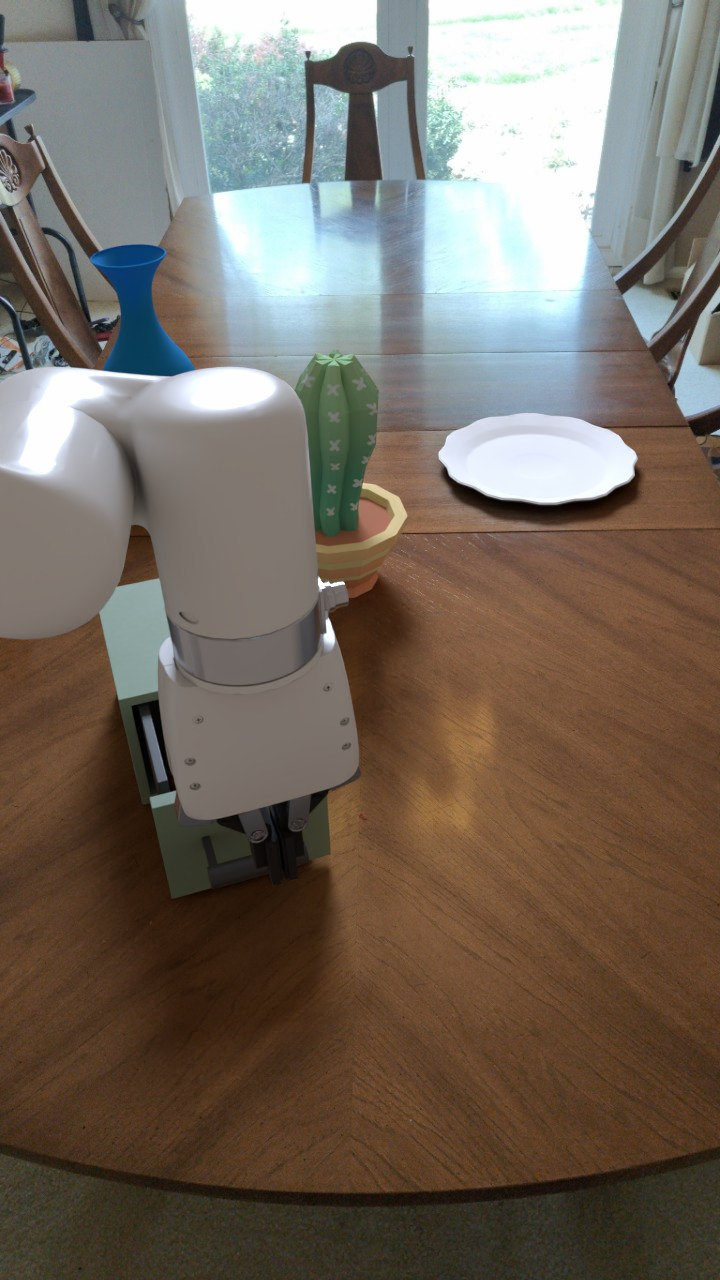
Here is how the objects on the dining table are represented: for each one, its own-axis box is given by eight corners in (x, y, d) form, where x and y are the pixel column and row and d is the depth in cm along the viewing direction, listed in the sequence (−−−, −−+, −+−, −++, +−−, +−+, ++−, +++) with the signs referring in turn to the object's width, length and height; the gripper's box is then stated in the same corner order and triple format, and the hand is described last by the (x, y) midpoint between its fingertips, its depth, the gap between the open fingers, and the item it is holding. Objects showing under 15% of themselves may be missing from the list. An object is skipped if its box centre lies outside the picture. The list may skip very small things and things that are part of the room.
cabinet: (299, 765, 86) (290, 660, 79) (142, 805, 82) (118, 700, 75) (255, 659, 98) (244, 560, 90) (117, 691, 94) (94, 591, 87)
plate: (418, 501, 122) (419, 487, 120) (462, 417, 140) (463, 404, 139) (625, 528, 115) (627, 514, 114) (642, 436, 134) (644, 423, 133)
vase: (228, 462, 131) (202, 245, 114) (176, 505, 122) (140, 277, 105) (153, 446, 135) (117, 235, 118) (97, 487, 126) (50, 265, 109)
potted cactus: (433, 564, 110) (438, 348, 95) (355, 634, 100) (347, 405, 85) (322, 527, 117) (310, 320, 102) (239, 589, 107) (213, 369, 92)
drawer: (348, 898, 73) (344, 807, 67) (183, 946, 70) (162, 856, 64) (282, 734, 87) (273, 647, 81) (141, 769, 84) (122, 681, 78)
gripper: (364, 554, 53) (374, 790, 64) (85, 615, 50) (147, 853, 61) (414, 632, 48) (416, 876, 59) (104, 707, 44) (168, 951, 55)
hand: (279, 864), depth 60 cm, fingers closed
